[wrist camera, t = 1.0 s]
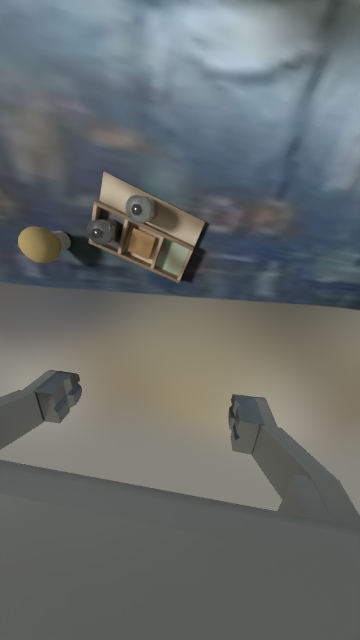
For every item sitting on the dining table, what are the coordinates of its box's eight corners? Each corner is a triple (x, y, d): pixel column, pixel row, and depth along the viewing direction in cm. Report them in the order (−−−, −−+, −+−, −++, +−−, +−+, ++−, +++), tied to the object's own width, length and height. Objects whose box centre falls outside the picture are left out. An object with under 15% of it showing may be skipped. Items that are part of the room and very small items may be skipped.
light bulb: (59, 216, 38) (18, 219, 30) (83, 242, 41) (52, 252, 32) (44, 236, 41) (3, 244, 33) (68, 260, 43) (35, 273, 35)
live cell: (140, 192, 34) (127, 189, 28) (160, 202, 34) (151, 201, 28) (134, 215, 36) (121, 217, 30) (153, 224, 36) (144, 228, 31)
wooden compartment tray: (106, 172, 34) (97, 169, 31) (205, 221, 36) (205, 223, 33) (96, 242, 40) (87, 245, 37) (179, 279, 43) (177, 285, 40)
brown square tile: (135, 227, 36) (133, 227, 36) (156, 237, 37) (155, 238, 36) (129, 249, 39) (127, 250, 38) (149, 258, 39) (148, 260, 39)
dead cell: (104, 214, 36) (86, 216, 30) (124, 223, 37) (109, 226, 31) (101, 235, 38) (83, 239, 33) (119, 243, 39) (105, 249, 33)
